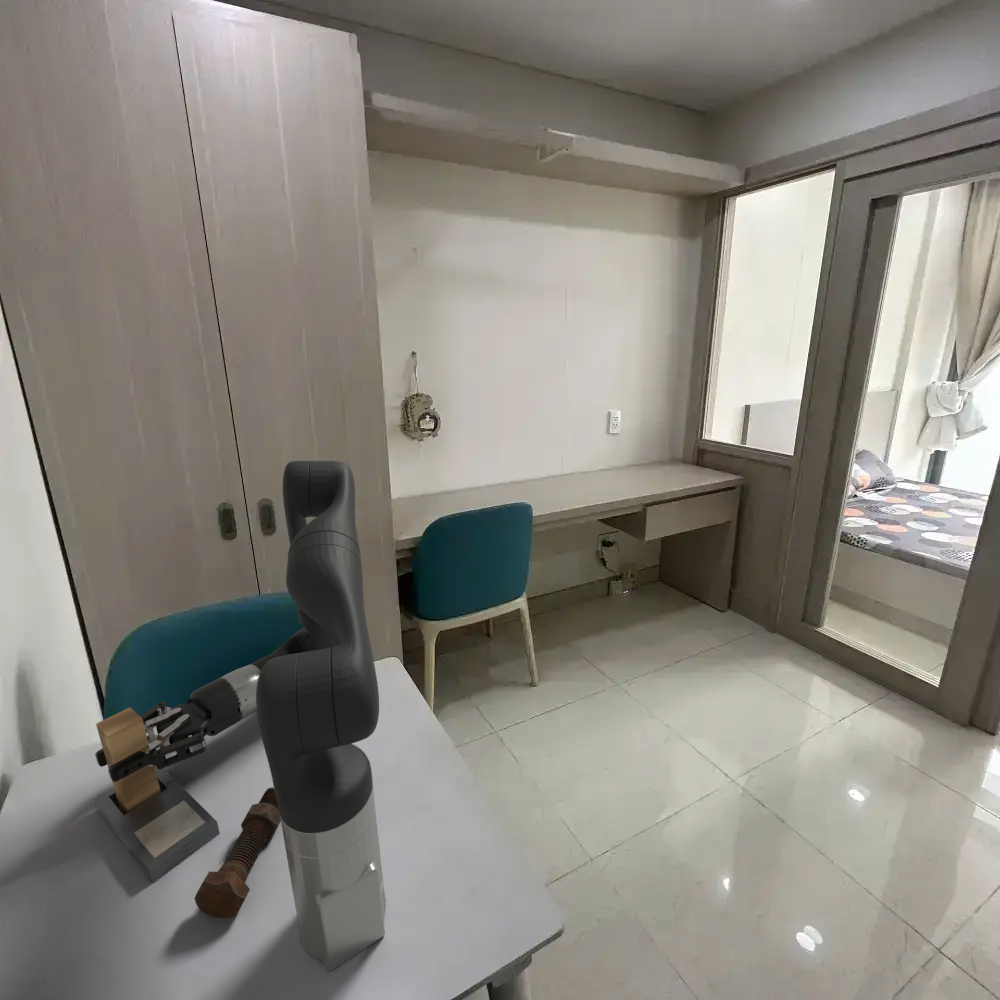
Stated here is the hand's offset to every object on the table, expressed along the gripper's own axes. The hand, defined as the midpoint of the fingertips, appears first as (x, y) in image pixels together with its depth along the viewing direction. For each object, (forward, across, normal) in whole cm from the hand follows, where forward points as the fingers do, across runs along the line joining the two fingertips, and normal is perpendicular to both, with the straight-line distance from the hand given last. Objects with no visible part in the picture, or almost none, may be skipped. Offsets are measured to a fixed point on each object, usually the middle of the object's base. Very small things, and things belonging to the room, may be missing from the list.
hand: (104, 767), depth 68 cm
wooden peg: (-3, 0, +8) cm, 9 cm away
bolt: (-8, +21, +9) cm, 24 cm away
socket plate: (-3, +5, +8) cm, 10 cm away
